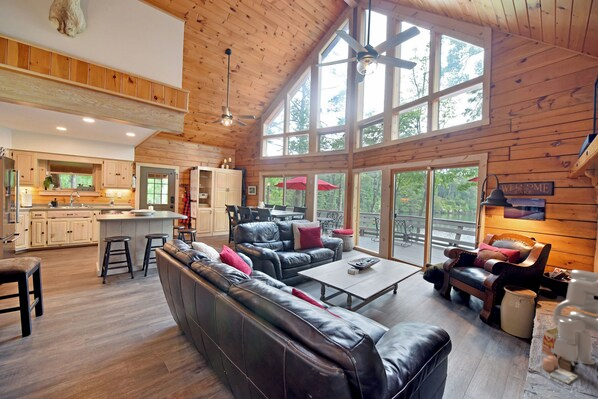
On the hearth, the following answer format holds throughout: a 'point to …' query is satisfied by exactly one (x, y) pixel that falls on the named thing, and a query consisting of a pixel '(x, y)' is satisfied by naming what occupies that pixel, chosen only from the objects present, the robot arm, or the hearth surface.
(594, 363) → the robot arm
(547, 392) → the hearth surface
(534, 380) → the hearth surface
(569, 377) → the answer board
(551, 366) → the egg
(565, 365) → the brown cube
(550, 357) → the peach egg shape
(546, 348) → the milk carton
